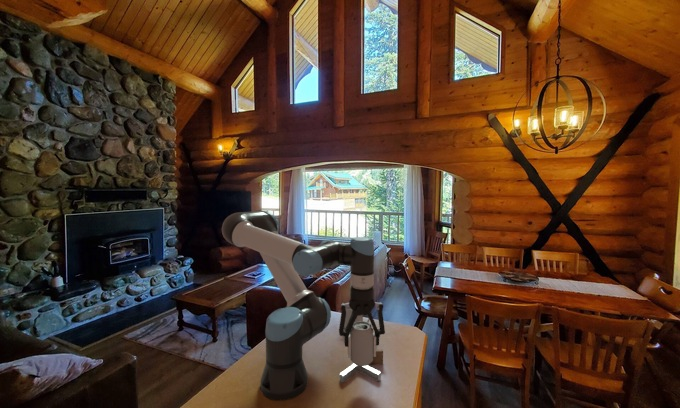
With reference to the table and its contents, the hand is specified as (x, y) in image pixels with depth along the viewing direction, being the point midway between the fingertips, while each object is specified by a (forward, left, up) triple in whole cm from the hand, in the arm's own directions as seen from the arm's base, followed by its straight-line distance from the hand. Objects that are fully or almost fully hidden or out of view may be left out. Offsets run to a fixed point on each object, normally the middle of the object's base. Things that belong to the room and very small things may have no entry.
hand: (361, 354), depth 93 cm
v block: (0, +5, -10) cm, 11 cm away
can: (0, 0, -2) cm, 2 cm away
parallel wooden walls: (+5, +17, -10) cm, 20 cm away
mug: (+3, +39, -10) cm, 40 cm away
